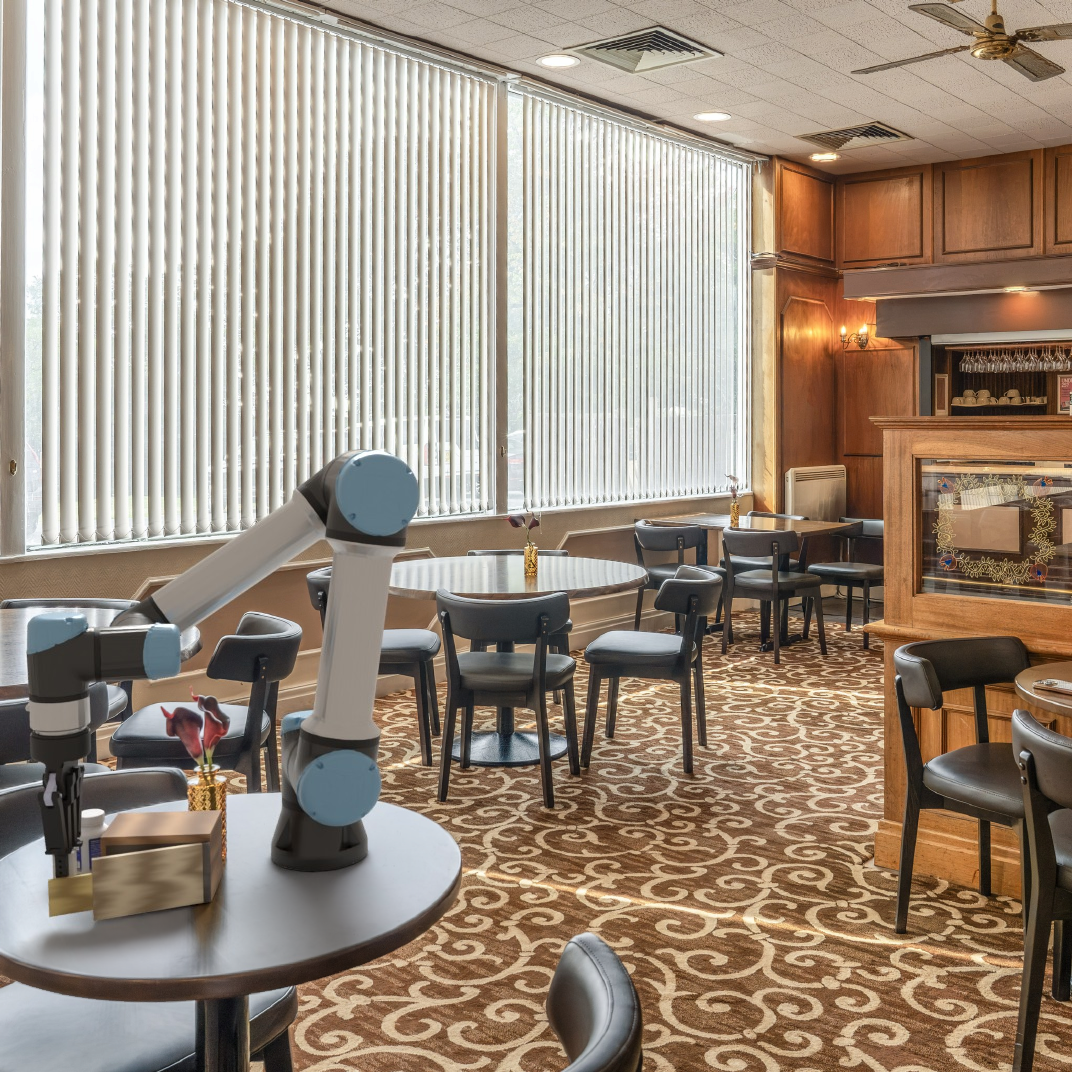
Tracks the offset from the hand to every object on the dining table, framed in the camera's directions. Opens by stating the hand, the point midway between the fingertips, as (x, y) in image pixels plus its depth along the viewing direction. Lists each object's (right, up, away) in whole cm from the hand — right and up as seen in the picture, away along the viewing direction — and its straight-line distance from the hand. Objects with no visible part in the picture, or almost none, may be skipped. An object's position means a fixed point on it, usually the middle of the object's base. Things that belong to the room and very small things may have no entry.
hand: (65, 896), depth 153 cm
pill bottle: (-4, -2, +18) cm, 19 cm away
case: (+10, -3, +11) cm, 15 cm away
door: (+8, -3, +2) cm, 9 cm away
